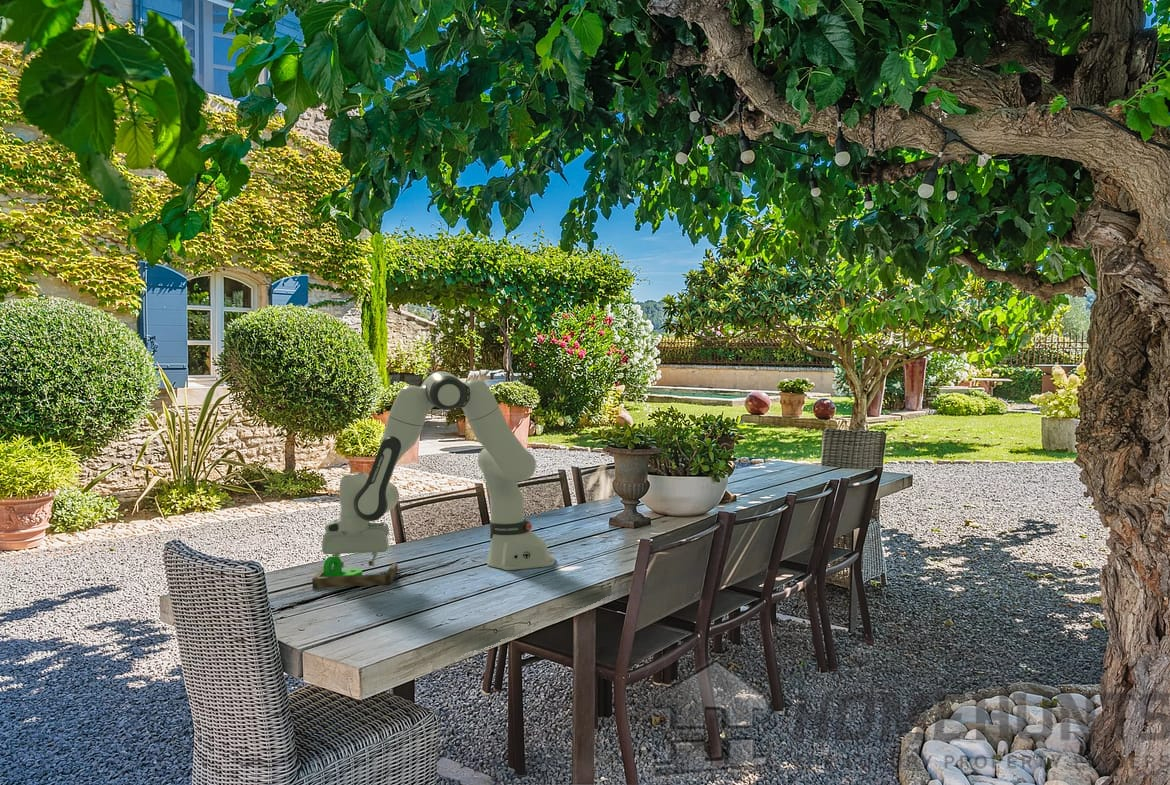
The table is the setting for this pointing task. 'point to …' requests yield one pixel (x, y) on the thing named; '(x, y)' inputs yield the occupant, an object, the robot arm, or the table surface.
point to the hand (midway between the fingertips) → (356, 566)
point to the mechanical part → (338, 568)
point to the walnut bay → (354, 579)
